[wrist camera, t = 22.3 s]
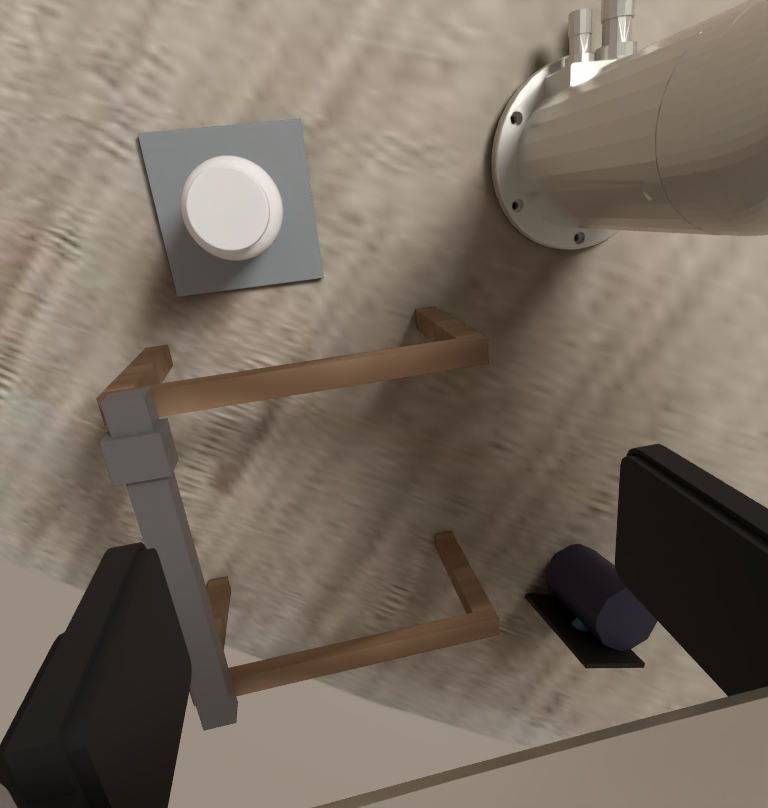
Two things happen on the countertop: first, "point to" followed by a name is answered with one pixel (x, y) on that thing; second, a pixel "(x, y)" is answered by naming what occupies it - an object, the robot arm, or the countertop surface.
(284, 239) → the slate mat
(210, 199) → the supplement bottle
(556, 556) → the speaker
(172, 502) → the tie bar
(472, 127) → the countertop surface
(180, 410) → the frame
